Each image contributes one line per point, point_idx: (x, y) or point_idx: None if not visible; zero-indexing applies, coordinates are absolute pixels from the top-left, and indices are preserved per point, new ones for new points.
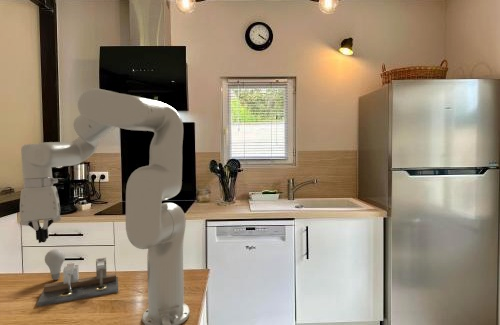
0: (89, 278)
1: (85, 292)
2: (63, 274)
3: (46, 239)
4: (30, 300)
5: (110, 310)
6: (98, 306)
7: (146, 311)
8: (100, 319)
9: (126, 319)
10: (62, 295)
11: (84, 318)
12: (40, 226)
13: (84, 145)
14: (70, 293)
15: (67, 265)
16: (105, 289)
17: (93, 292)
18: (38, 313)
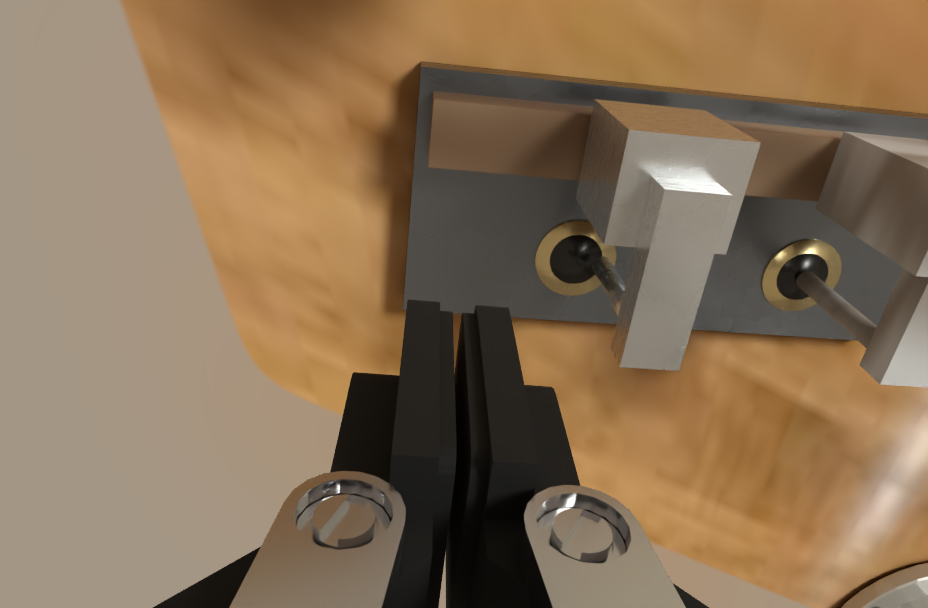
0: (775, 158)
1: None
2: (596, 230)
3: (506, 313)
4: (343, 175)
5: (750, 500)
6: (713, 441)
7: (871, 603)
8: (688, 549)
9: (779, 587)
10: (552, 284)
11: None
12: (415, 566)
13: None
14: None
15: (658, 236)
16: (811, 319)
17: (734, 327)
18: None
